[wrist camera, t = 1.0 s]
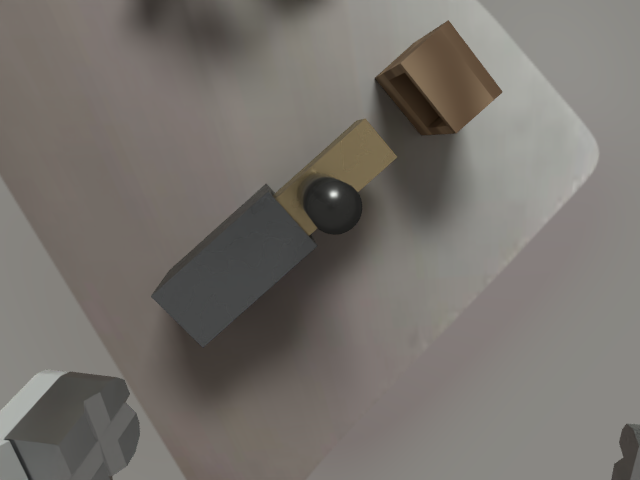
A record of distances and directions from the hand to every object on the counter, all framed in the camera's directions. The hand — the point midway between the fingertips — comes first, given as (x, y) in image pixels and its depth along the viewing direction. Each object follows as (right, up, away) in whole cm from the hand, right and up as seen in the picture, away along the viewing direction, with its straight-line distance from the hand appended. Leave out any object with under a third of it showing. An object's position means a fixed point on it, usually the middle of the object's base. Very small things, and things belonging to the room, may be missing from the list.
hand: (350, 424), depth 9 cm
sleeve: (-7, +2, +38) cm, 39 cm away
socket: (+8, +16, +37) cm, 41 cm away
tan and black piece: (-3, +5, +34) cm, 35 cm away
